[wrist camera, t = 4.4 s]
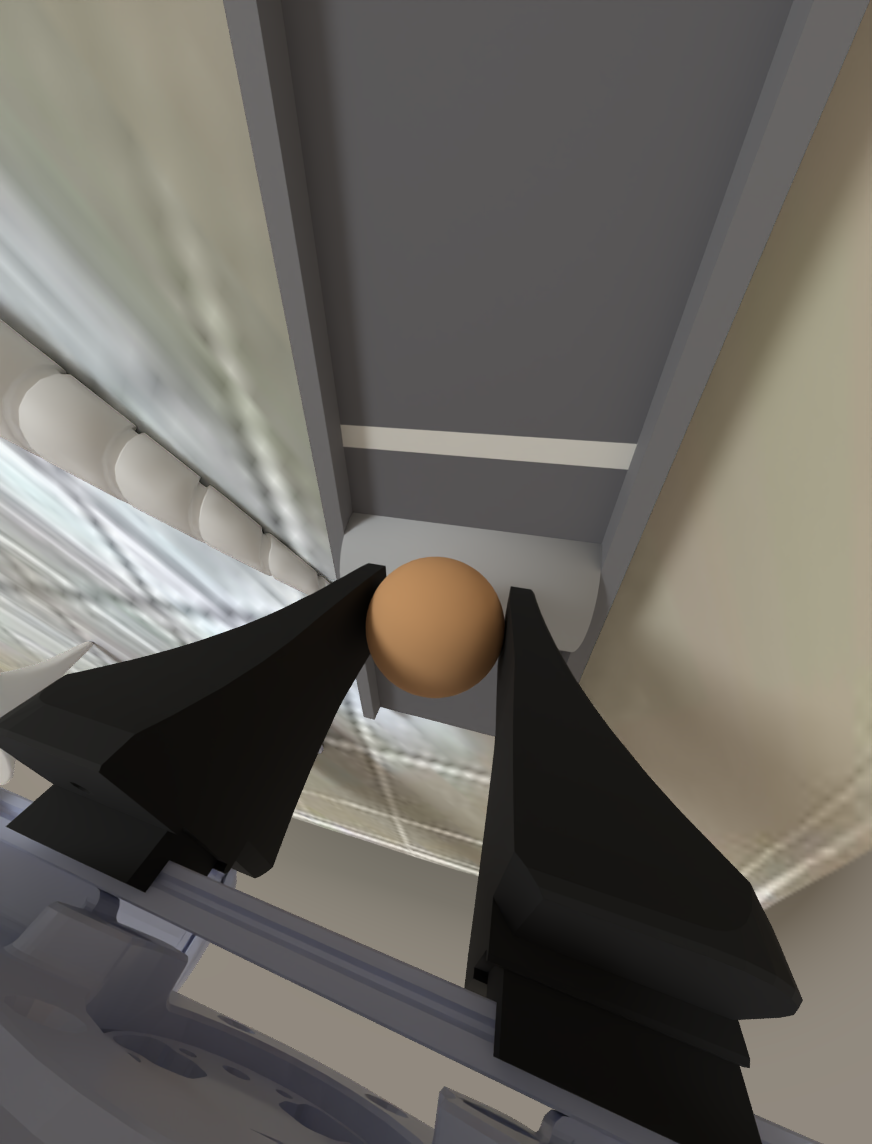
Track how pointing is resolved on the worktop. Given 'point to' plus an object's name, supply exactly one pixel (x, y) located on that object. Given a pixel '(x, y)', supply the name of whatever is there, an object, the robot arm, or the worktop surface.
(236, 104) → the worktop surface
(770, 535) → the worktop surface
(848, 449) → the worktop surface
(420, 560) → the ball
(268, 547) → the unicorn horn
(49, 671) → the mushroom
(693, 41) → the divided tray
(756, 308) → the worktop surface
